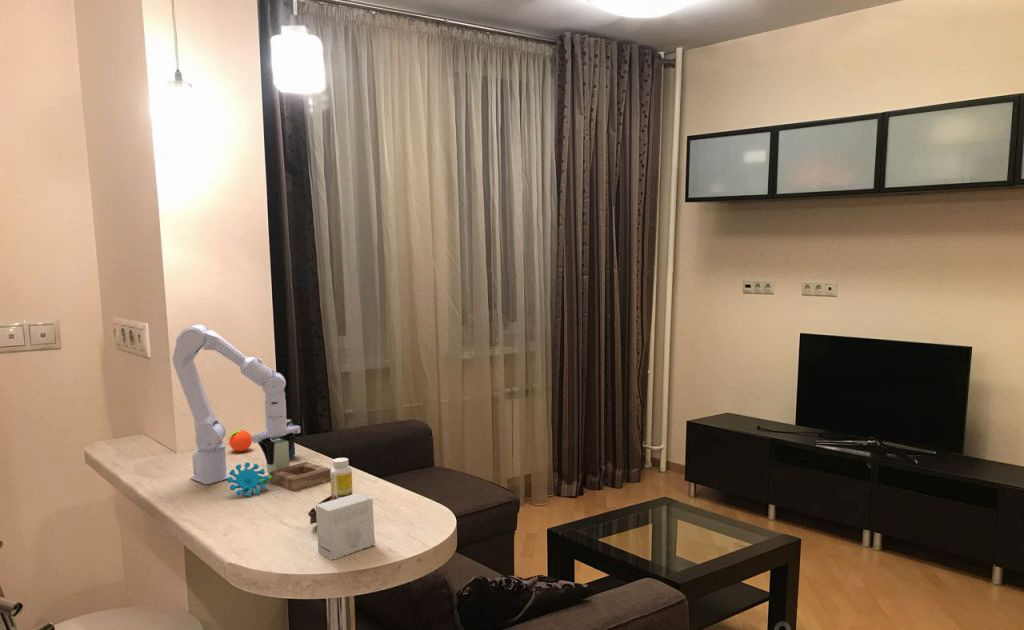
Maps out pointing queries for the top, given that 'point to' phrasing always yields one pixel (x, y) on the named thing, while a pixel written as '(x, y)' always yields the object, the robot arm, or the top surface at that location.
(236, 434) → the clementine
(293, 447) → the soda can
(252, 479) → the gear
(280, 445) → the sage peg
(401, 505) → the top surface
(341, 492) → the supplement bottle
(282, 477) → the walnut collar
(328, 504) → the skincare box
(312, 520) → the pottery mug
